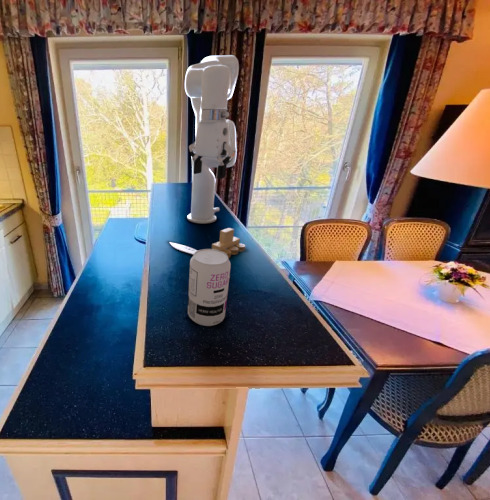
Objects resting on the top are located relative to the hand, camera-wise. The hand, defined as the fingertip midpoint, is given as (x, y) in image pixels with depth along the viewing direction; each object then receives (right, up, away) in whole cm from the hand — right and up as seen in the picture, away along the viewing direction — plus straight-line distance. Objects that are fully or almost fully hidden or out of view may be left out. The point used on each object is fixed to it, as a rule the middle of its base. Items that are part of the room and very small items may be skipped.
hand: (208, 175), depth 89 cm
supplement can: (-6, -39, -26) cm, 47 cm away
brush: (+7, -24, +5) cm, 25 cm away
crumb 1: (+5, -26, +1) cm, 26 cm away
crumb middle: (+8, -25, +3) cm, 26 cm away
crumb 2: (+11, -24, +5) cm, 27 cm away
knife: (-4, -27, -1) cm, 27 cm away
